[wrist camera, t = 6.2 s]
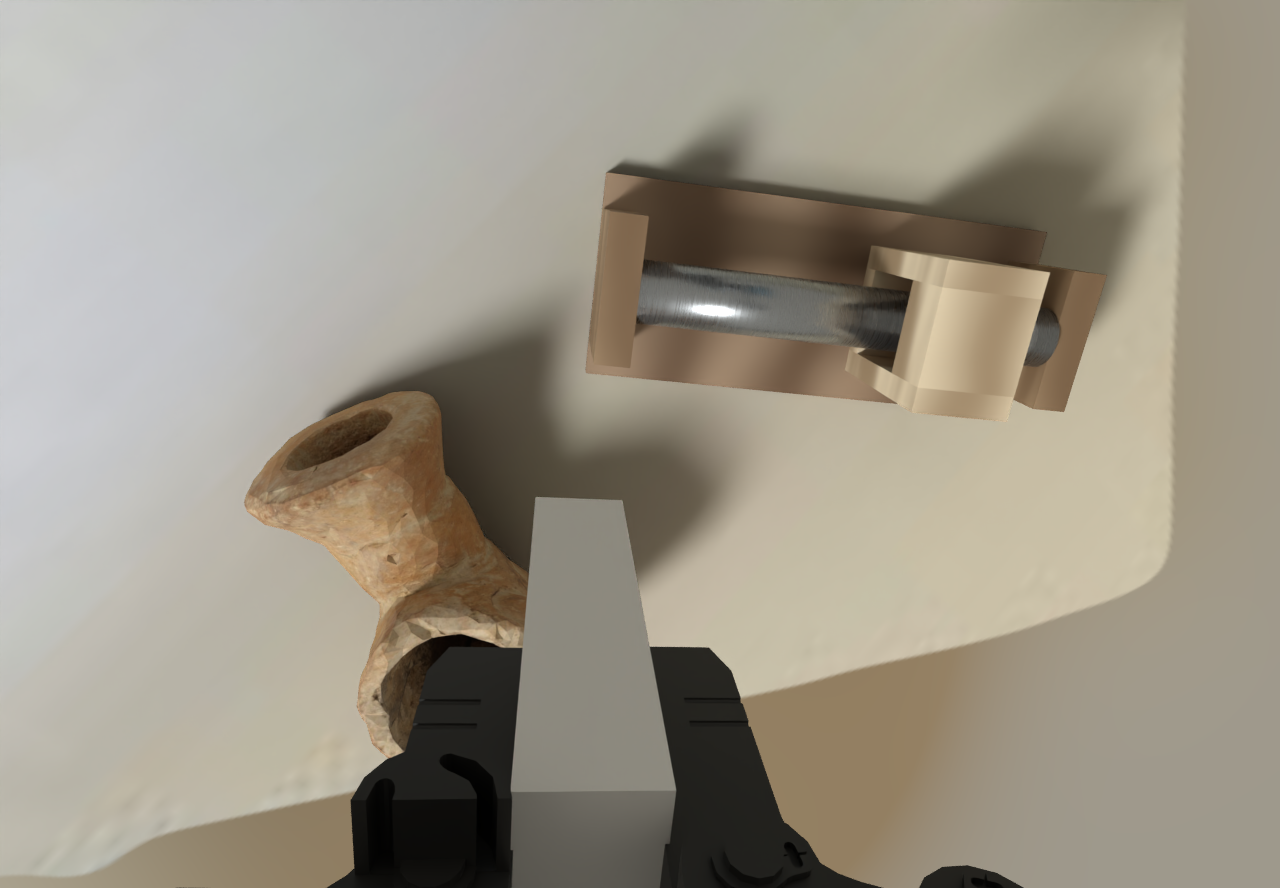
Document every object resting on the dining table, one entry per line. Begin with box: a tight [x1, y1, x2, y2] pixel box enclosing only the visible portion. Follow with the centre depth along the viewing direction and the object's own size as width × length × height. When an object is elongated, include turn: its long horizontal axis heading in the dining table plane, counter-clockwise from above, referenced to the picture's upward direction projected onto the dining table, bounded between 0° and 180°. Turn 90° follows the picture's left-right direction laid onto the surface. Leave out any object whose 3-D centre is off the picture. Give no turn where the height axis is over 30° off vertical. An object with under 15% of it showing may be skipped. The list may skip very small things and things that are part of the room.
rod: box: [636, 259, 1060, 367], centre depth 32 cm, size 18×3×3 cm, turn 83°
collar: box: [845, 246, 1050, 422], centre depth 32 cm, size 4×6×7 cm
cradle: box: [586, 172, 1107, 412], centre depth 33 cm, size 21×9×6 cm, turn 83°
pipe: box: [244, 391, 529, 758], centre depth 33 cm, size 9×16×10 cm, turn 29°
